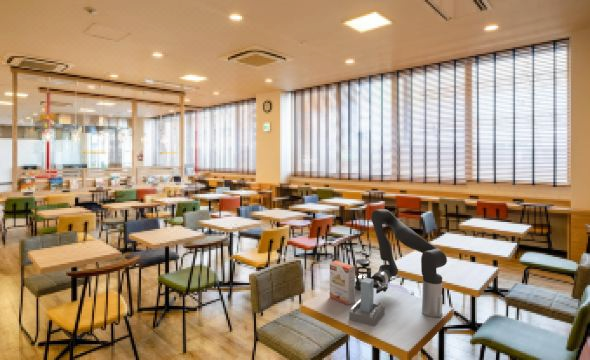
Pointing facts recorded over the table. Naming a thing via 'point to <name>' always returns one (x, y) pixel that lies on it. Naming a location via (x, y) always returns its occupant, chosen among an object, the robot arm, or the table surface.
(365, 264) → the french press
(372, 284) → the light blue rectangular block
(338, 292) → the cracker box
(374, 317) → the stand
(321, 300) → the table surface
